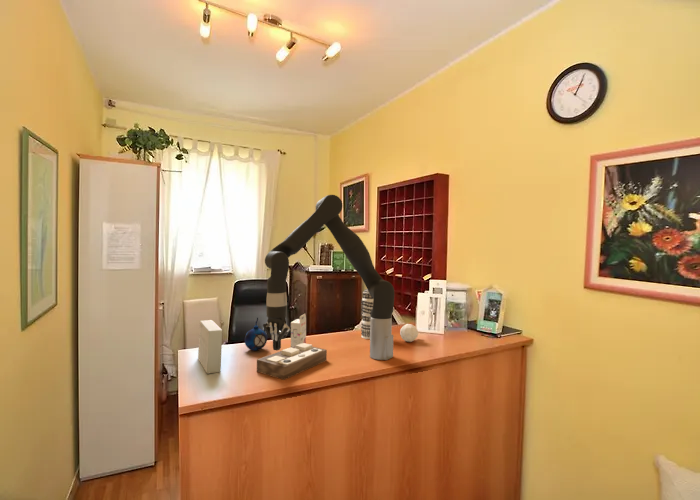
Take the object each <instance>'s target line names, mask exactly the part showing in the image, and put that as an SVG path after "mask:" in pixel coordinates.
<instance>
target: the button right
mask: <svg viewBox="0 0 700 500" xmlns="http://www.w3.org/2000/svg"><path fill="white" fill-rule="evenodd" d="M312 347H313V344H310V343H307V342H306V343H301V344H299V345H296V346H295V349H299V350H300V351H303V352H305V351H308V350H311V349H312Z"/></svg>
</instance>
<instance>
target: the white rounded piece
mask: <svg viewBox="0 0 700 500" xmlns="http://www.w3.org/2000/svg"><path fill="white" fill-rule="evenodd" d="M399 334H400V337H401V339H402V340H403V341H405V342H408V343H411V342H414V341H415V340H416V339H417V338H418V336H419V331H418V328H417V326H415V325H414V324H410V323H406V324H404V325H403V326H402V327H401V328H400V329H399Z"/></svg>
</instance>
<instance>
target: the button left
mask: <svg viewBox="0 0 700 500" xmlns="http://www.w3.org/2000/svg"><path fill="white" fill-rule="evenodd" d="M285 359H286V358H283V357H280V356H274V357H271V358H268V359H266V360H268V361H271V362H275V363H277V362H279V361H282V360H285Z"/></svg>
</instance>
